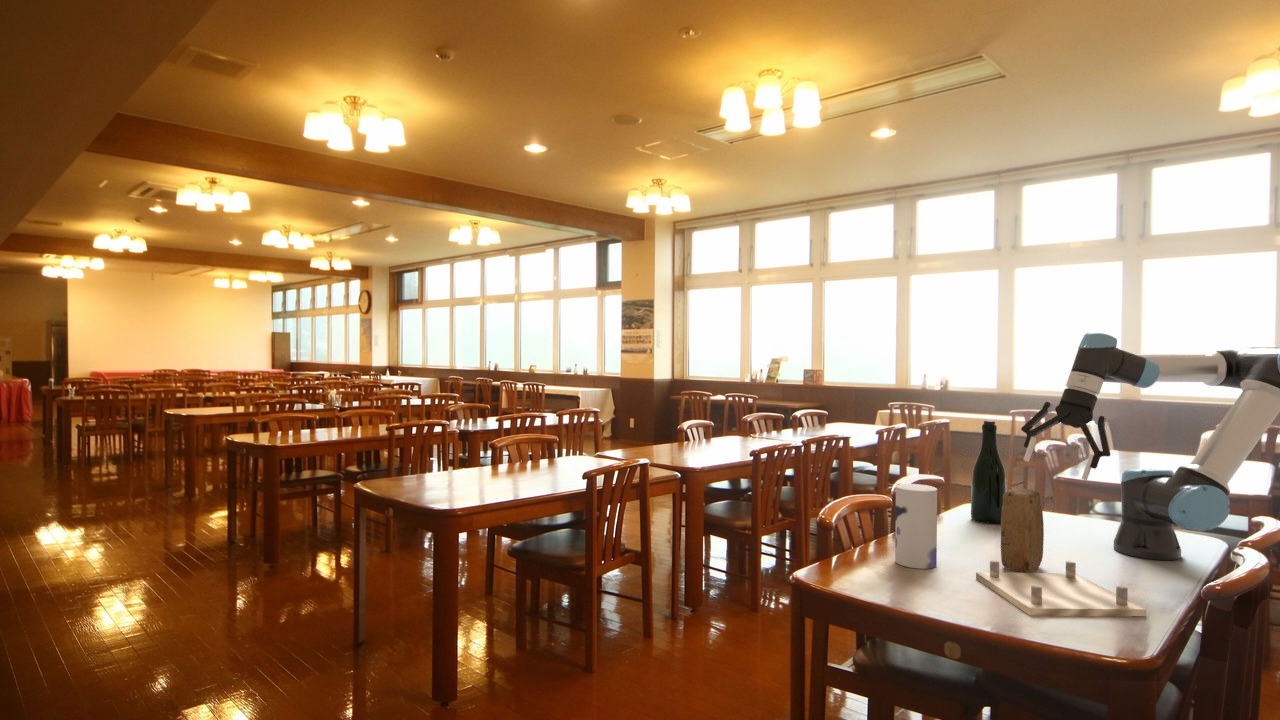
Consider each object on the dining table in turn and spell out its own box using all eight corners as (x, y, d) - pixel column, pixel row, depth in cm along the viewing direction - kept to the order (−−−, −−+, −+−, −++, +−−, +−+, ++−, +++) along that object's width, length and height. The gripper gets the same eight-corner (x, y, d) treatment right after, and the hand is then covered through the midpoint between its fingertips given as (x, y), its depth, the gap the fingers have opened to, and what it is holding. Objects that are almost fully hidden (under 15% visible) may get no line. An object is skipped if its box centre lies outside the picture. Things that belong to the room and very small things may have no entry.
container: (888, 558, 186) (889, 483, 186) (924, 557, 187) (925, 483, 187) (906, 569, 176) (906, 490, 176) (944, 569, 177) (944, 490, 177)
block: (1027, 575, 172) (1028, 494, 172) (997, 568, 178) (997, 489, 178) (1047, 567, 179) (1048, 489, 179) (1017, 560, 185) (1018, 485, 185)
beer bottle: (1000, 518, 234) (1001, 419, 233) (1011, 525, 223) (1012, 422, 223) (967, 516, 235) (967, 418, 235) (975, 524, 225) (976, 421, 225)
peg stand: (1075, 579, 169) (1075, 558, 169) (1145, 616, 145) (1146, 592, 145) (975, 578, 170) (976, 558, 170) (1029, 615, 146) (1030, 591, 146)
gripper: (1026, 376, 185) (999, 452, 185) (1137, 403, 168) (1107, 486, 168) (1032, 381, 190) (1006, 455, 191) (1140, 408, 174) (1112, 489, 174)
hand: (1054, 470), depth 179 cm, fingers open, 13 cm apart
